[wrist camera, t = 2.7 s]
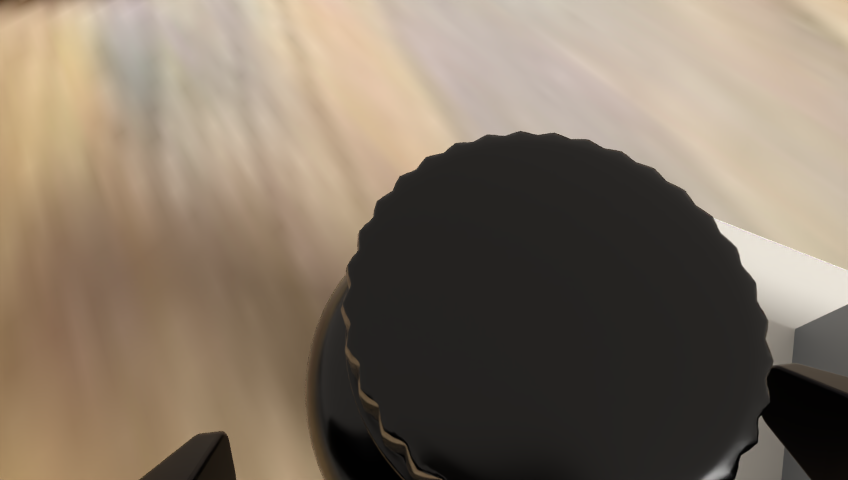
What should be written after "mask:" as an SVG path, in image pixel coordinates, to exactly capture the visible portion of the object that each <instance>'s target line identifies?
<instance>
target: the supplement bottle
mask: <svg viewBox="0 0 848 480" xmlns="http://www.w3.org/2000/svg"><path fill="white" fill-rule="evenodd" d="M357 248H358V251H357V253H356V254H355V255H354V256H353V257H352V259H351V261H350V262H349V264H348V265H347V268H346V275H345V276H344V278H343V279H342V280H341V281H340V283H339V284H338V286H337V287H336V289H335V290H334V292H333V294H332V295H331V297H330V299H329V301H328V303H327V305H326V306H325V308H324V310H323V313H322V315H321V318H320V320H319V323H318V325H317V327H316V331H315V334H314V338H313V341H312V344H311V348H310V354H309V359H308V364H307V374H306V413H307V423H308V428H309V433H310V438H311V443H312V447H313V450H314V453H315V457H316V460H317V463H318V466H319V468H320V471H321V473H322V476H323V478H324V480H735V478H736V474H737V471H738V468H739V461H740V458H741V455H743V454H744V453H746V452H747V451H749V450H750V449H751V448H753V447H754V446H755V445H756V444H757V443H758V436H759V429H758V421H759V417H760V416H761V415H762V414H763V413H764V412H765V411H766V409H767V408H768V406H769V404H770V403H771V401H770V393H769V389H768V386H767V377H768V375H769V373H770V371H771V368H772V365H773V362H774V360H773V357H772V354H771V351H770V349H769V346H768V344H767V341H766V335H767V331H768V319H767V317H766V315H765V313H764V311H763V310H762V309H761V307H760V305H759V303H758V301H757V286H756V282H755V280H754V279H753V278H752V276H751V275H750V274H749V273H748V272H747V271H746V270H745V268H744V267H743V266H742V264H741V261H740V255H739V252H738V249H737V247H736V246H735V245H734V244H733V243H732V242H731V241H730V240H728V239H727V238H726V237H725V236H724V235H723V234H721V232H720V231H719V229H718V227H717V224H716V222H715V220H714V218H713V217H712V216H711V215H710V214H708V213H707V212H705V211H704V210H702V209H701V208H699V207H698V206H696V205H695V204H694V202H693V201H692V199H691V198H690V196H689V195H688V194H687V193H686V191H685V190H683V189H681V188H680V187H678V186H676V185H674V184H671V183H669V182H667V181H666V180H665V179H664V178H663V177H662V176H661V175H660V174H659V173H658V172H657V171H656V170H655V169H654V168H652V167H649V166H646V165H643V164H640V163H636V162H635V161H634V160H632V159H631V158H630V157H629V156H627V155H626V154H625V153H623V152H622V151H617V150H611V149H605V148H602V147H601V146H599V145H597V144H596V143H594V142H592V141H590V140H586V139H569V138H567V137H564V136H562V135H559V134H556V133H548V134H542V135H535V134H530V133H527V132H522V131H519V132H516V133H512V134H510V135H507V136H498V135H485V136H483V137H481V138H480V139H478V140H476V141H474V142H468V143H466V142H463V143H455V144H454V145H453V146H451V147H450V148H449V149H448V150H447V151H446V152H444V153H441V154H437V155H432V156H429V157H426V158H425V159H424V160H423V161H422V162H421V164H420V165H419V167H418V168H417V169H416V170H414V171H412V172H409V173H406V174H404V175H402V176H400V177H399V179H398V180H397V182H396V184H395V187H394V189H393V191H392V192H390V193H388V194H387V195H385V196H384V197H382V198H381V199H380V200H378V201H377V203H376V206H375V209H374V214H373V218H372V219H371V220H370V221H369V222H368V223H367V224H365V225H364V227H363V228H362V229H361V230H360V231H359V233H358V243H357Z"/></svg>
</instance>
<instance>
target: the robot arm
mask: <svg viewBox="0 0 848 480" xmlns="http://www.w3.org/2000/svg"><path fill="white" fill-rule="evenodd" d="M767 386H768V389H769V393H770V401H771V403H770V404H769V406H768V408H767V409H766V411H765V412H764V413H763V414H762V418H763V420H764V422H765V423H766V424H767V426H768V427H769V428H770V429H771V431H772V432H773V433H774V434H775V436H776V437H777V438H778V439H779V441H780V442H781V443H782V444H783V446H784V447H785V448H786V449H787V451H788V452H789V453H790V454H791V456H792V457H793V458H794V459H795V461H796V462H797V463H798V465H799V466H800V467H801V468H802V470H803V471H804V472H805V473H806V475H807V476H808V477H809V478H810V480H848V377H846V376H842V375H838V374H835V373H831V372H827V371H824V370H820V369H816V368H813V367H809V366H805V365H801V364H797V363H787V364H779V365H773V366H772V368H771V371H770V373H769V375H768V377H767ZM140 480H236V474H235V468H234V463H233V458H232V453H231V448H230V443H229V438H228V436H227V434H226V433H225V432H223V431H219V432H210V433H202V434H198V435H196V436H194V437H193V438H191V439H190V440H189V441H188V442H186V443H185V444H184V445H183V446H181V447H180V448H179V449H178V450H176V451H175V452H174V453H172V454H171V455H170V456H169V457H167V458H166V459H165V460H164V461H162V462H161V463H160V464H159V465H157V466H156V467H155V468H153V469H152V470H151V471H150V472H148V473H147V474H146V475H145V476H143V477H142V478H141V479H140Z"/></svg>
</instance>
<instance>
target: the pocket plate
mask: <svg viewBox="0 0 848 480" xmlns="http://www.w3.org/2000/svg"><path fill="white" fill-rule="evenodd" d="M714 220H715V222H716V224H717V227H718V229H719V231H720V232H721V234H723V235H724V236H725V237H726V238H727V239H728V240H730V241H731V242H732V243H733V244H734V245H735V246H736V247H737V249H738V252H739V255H740V261H741V264H742V266H743V267H744V268H745V270H746V271H747V272H748V273H749V274H750V275H751V276H752V278H753V279H754V280H755V282H756V286H757V301H758V303H759V305H760V307H761V309H762V310H763V311H764V313H765V315H766V317H767V319H768V331H767V335H766V341H767V344H768V346H769V349H770V351H771V354H772V357H773V360H774V362H773V365H779V364H787V363H797V364H801V365H805V366H809V367H813V368H816V369H820V370H824V371H827V372H831V373H835V374H838V375H842V376H846V377H848V270H846V269H843V268H841V267H838V266H836V265H833V264H830V263H828V262H825V261H823V260H820V259H818V258H815V257H812V256H810V255H807V254H805V253H802V252H800V251H797V250H794V249H792V248H789V247H787V246H784V245H782V244H779V243H776V242H774V241H771V240H769V239H766V238H764V237H761V236H758V235H756V234H753V233H751V232H748V231H746V230H743V229H741V228H738V227H735V226H733V225H730V224H728V223H725V222H723V221H720V220H717V219H715V218H714ZM773 365H772V366H773ZM758 429H759V436H758V443H757V444H756V445H755V446H754V447H753V448H751V449H750V450H749V451H747V452H746V453H744V454H743V455H741V458H740V461H739V468H738V471H737V474H736V478H735V480H810V478H809V477H808V476H807V475H806V473H805V472H804V471H803V470H802V468H801V467H800V466H799V465H798V463H797V462H796V461H795V459H794V458H793V457H792V456H791V454H790V453H789V452H788V451H787V449H786V448H785V447H784V446H783V444H782V443H781V442H780V441H779V439H778V438H777V437H776V436H775V434H774V433H773V432H772V431H771V429H770V428H769V427H768V426H767V424H766V423H765V422H764V420H763V418H762V415H761V416H760V417H759V421H758Z"/></svg>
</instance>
